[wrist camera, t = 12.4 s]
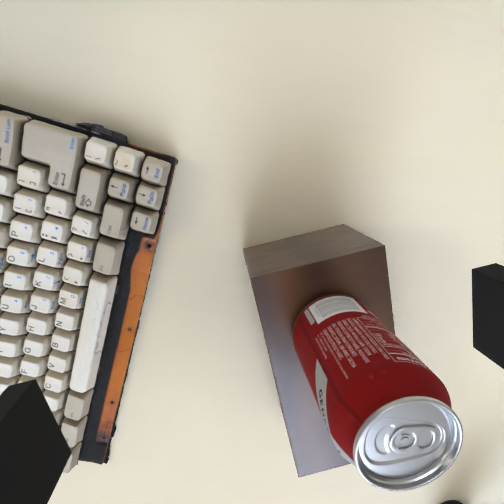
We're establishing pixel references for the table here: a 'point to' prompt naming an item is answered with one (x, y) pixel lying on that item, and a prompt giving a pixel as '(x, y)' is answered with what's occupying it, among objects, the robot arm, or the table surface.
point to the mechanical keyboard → (75, 266)
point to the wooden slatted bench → (290, 306)
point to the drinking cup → (452, 502)
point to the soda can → (376, 395)
